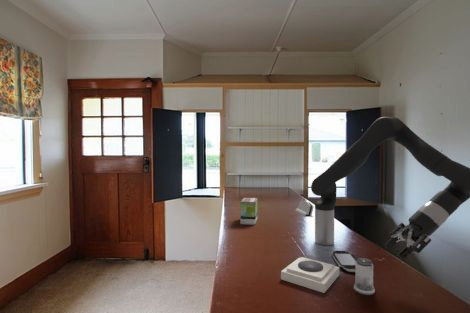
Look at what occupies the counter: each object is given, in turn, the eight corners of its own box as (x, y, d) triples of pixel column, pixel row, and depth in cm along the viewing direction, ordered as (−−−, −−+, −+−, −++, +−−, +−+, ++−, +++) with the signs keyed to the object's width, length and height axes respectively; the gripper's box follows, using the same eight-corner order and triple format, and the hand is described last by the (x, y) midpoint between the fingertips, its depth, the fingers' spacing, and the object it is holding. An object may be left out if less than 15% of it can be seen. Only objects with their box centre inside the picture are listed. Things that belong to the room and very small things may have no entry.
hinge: (294, 211, 209) (298, 198, 210) (300, 212, 210) (304, 200, 211) (305, 216, 193) (309, 202, 193) (310, 218, 194) (315, 204, 194)
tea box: (255, 225, 172) (255, 201, 172) (240, 224, 174) (239, 201, 173) (257, 219, 187) (257, 197, 187) (243, 218, 189) (242, 197, 188)
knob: (356, 283, 97) (356, 255, 96) (376, 288, 93) (376, 259, 92) (351, 291, 92) (351, 261, 91) (372, 297, 88) (372, 266, 87)
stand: (299, 264, 113) (299, 253, 113) (339, 275, 103) (339, 263, 103) (281, 279, 100) (280, 267, 100) (324, 293, 90) (324, 279, 90)
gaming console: (366, 275, 104) (366, 268, 104) (342, 274, 105) (342, 267, 105) (350, 255, 123) (350, 249, 123) (330, 254, 124) (330, 249, 124)
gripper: (407, 205, 98) (374, 237, 99) (435, 215, 84) (396, 252, 84) (422, 220, 98) (389, 252, 98) (452, 232, 83) (413, 269, 84)
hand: (392, 252), depth 91 cm, fingers open, 8 cm apart
